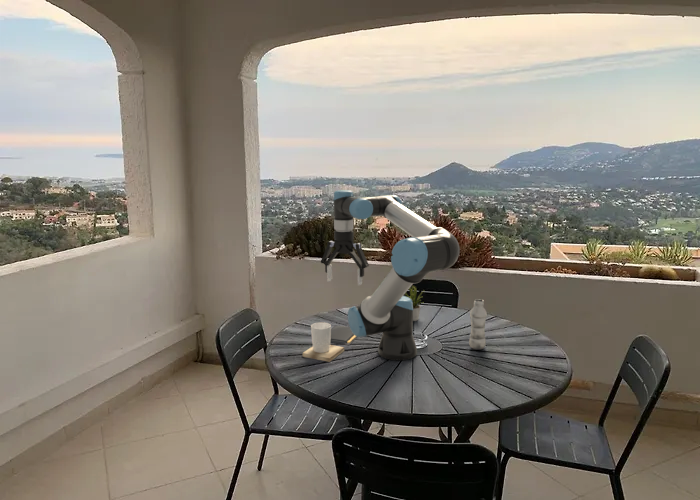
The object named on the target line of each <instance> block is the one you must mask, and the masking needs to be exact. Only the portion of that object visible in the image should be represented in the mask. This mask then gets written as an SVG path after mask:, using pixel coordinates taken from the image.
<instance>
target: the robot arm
mask: <svg viewBox="0 0 700 500" xmlns="http://www.w3.org/2000/svg"><path fill="white" fill-rule="evenodd" d="M332 201H333V202H332V203H333V229H334V231H333V234H334V236H333V237H334V241H333V240H329V241H327V244H326V248H325V251H324V253H323V254H322V258H321V260H320V263H321V264H322V265H323V264H324V267H325V268H324V269H325V271H324V272H325V273H326V275H327V277H326V279H327V280H326V281H327V283H328V282H331V281H333V265H332V264H331V263H332V262H333V261H334V259H335V258H336V256H338V254H344V255H348V256H349V257H351V258H352V260H353V261H354V263H355V264H356V266H357V267H358V268H357V269H356V270H357V271H356V273H357V286H361V285H363V277H364V276H365V269H366V268H368V267H369V262H368V260H367V258H366V256H365V253H364V251H363V248H362V244H361V242H358V243H354V237H355V235H354V230H353V229H354V219H357V220H366V219H369V218H372V217H384V218H385V219H386V220H388V221H389V222H391V223H392V224H393V225H395V226H397V227H398V228H399V229H401V230H402V231H404V232H405V233H406V234H407V235H409V236H410V237H406V238H402V239H401V240H399V241H397V242H396V243H395V244H394V246H393V248H392V250H391V254H392V255H391V257H390V258H391V259H390V261H391V266H392V268H391V269H390V270H389V271H388V273H387V274H386V275H385V277H384V279H383V280H382V281H381V283H380V284H379V286H378V287H377V288H376V289H375V291H374V292H373V293H372V295H369V296H366V297H365V298H364V299H363V300H362V301H361V302H360V304H358V305H356V306H355V305H353V306H352V307H350V308H348V311H347V322H348V327H350V329H351V331H352V333H353V334H354V335H355V336H356V337H357V338H366V337H368V336H373V335H377V334H381V333H382V335H381V338H380V340H379V344H378V347H377V348H378V349H377V350H378V355H379V356H380V357H381V358H383V359H387V360H391V361H406V360H411V359H413V358H415V357H416V356H417V354H418V348H417V344H416V342H415V338H414V335H413V332H414V331H413V330H414V329H413V327H414V326H413V322H414V321H413V302H412V300H411V299H410V298H408V297H407V296H406V295H405V293H407V292H408V291H409V288H410V287H411V288H412V286H413V284H418V283H421V282H422V281H423V280H424V278H426V276H427V275H428V274H430V273H433V272H437V271H443V270H446V269H449V268H451V267H452V266H454V265H455V263H457V261H458V258H459V256H460V250H461V249H460V244H459V242H458V240H457V238H456V237H455V236H454V234H452V233H451V232H450V231H449V230H447V229H445V228H443V227H441V226H439V227H437V226H435V225H433V224H432V223H430V222H429V221H427V219H424V218H423V217H422V216H420V215H418V214H417V213H415V212H413V211H412V210H410V209H409V208H407V207H406V206H404V205H403V202H402V200H401V199H400V197H399V196H398V195H393V194H386V195H378V196H367V197H366V196H365V197H355V196H354V192H353V190H350V189H342V190H341V189H340V190H339V189H338V190H335V191H334V192H333V199H332ZM333 247H334V248H335V249H334V250H333V251H332V249H333ZM355 250H356V251H355ZM331 252H332V254H331V255H330V253H331Z"/></svg>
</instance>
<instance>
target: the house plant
mask: <svg viewBox="0 0 700 500" xmlns="http://www.w3.org/2000/svg"><path fill="white" fill-rule="evenodd" d="M408 291H409V294H408V293H407V292H406V293H405V294H404V296H406V297H408V298H410V299H411V300H412V302H413V322H417V321H418V320H419V318H420V312H421V305H420V304H422V303H423V301H422V299H421V298H422V294H423V293H424V290H423V291H421V293H420V294H419V295H418V296H417V292H418V291H417V287H416V286H414V285H412V286H411V287H410V288H409V289H408ZM409 295H410V296H409ZM421 301H422V302H421Z"/></svg>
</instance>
